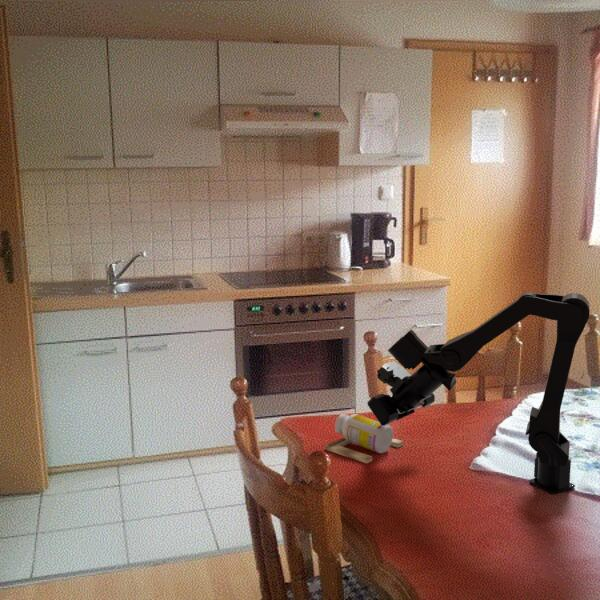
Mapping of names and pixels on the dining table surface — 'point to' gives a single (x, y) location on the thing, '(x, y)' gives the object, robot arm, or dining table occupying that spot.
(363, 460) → the frame
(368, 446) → the supplement bottle
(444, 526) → the dining table surface
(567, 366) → the robot arm
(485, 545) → the dining table surface
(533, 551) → the dining table surface
